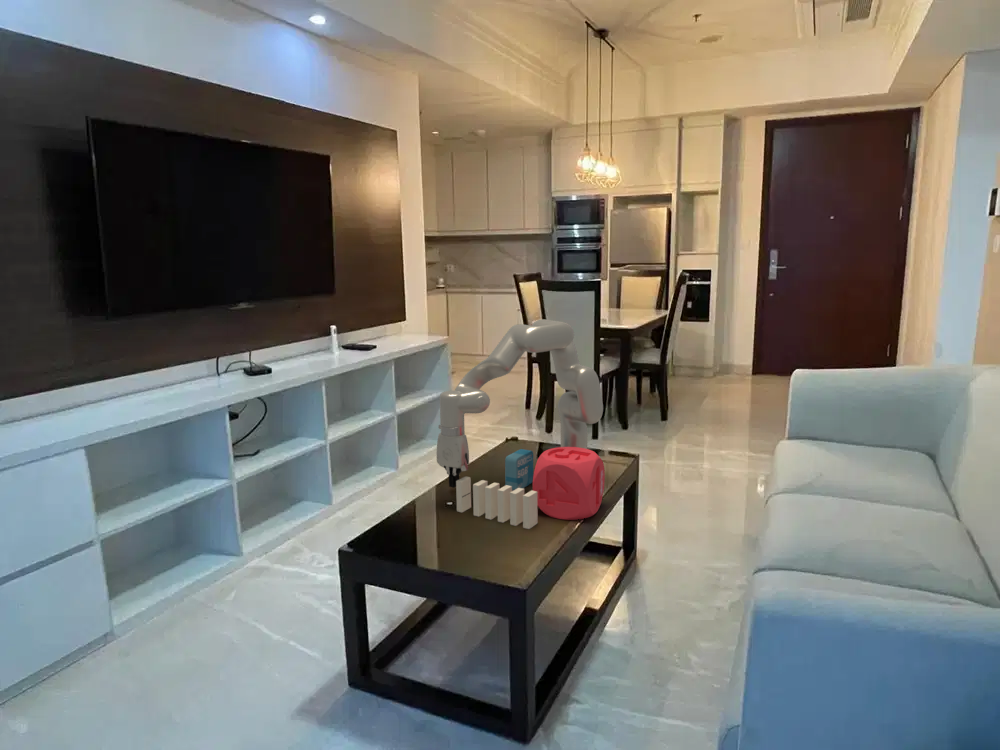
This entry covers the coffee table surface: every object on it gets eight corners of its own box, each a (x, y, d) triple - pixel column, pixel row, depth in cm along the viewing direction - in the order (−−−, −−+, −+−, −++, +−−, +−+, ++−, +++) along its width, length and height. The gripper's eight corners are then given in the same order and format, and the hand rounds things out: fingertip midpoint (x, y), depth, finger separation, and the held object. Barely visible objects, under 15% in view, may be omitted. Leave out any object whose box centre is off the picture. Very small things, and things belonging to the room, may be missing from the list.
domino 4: (497, 521, 201) (497, 489, 200) (506, 515, 206) (506, 485, 204) (503, 522, 200) (502, 491, 199) (512, 517, 204) (511, 486, 203)
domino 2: (473, 515, 206) (472, 484, 205) (482, 510, 210) (482, 479, 209) (478, 516, 205) (478, 485, 203) (488, 511, 209) (487, 481, 208)
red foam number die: (587, 524, 198) (588, 466, 195) (532, 515, 206) (531, 459, 203) (604, 503, 214) (605, 450, 211) (552, 495, 222) (552, 444, 219)
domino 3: (485, 518, 204) (484, 487, 202) (494, 513, 208) (494, 482, 206) (490, 519, 203) (490, 488, 201) (499, 514, 207) (499, 483, 205)
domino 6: (523, 527, 197) (522, 495, 195) (531, 521, 201) (531, 490, 199) (528, 529, 195) (528, 496, 194) (537, 523, 200) (537, 491, 198)
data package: (516, 492, 225) (516, 458, 223) (505, 490, 228) (504, 456, 226) (533, 482, 235) (533, 449, 233) (522, 480, 238) (522, 447, 236)
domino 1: (456, 511, 210) (455, 480, 208) (466, 506, 214) (465, 476, 212) (462, 512, 209) (461, 482, 207) (471, 507, 213) (470, 477, 211)
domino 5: (510, 524, 199) (509, 492, 197) (519, 518, 203) (518, 487, 201) (515, 525, 198) (515, 493, 196) (524, 520, 202) (524, 488, 200)
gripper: (426, 429, 210) (428, 485, 213) (464, 436, 202) (465, 494, 205) (441, 424, 216) (443, 478, 219) (478, 430, 208) (480, 486, 211)
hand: (454, 485), depth 212 cm, fingers closed
